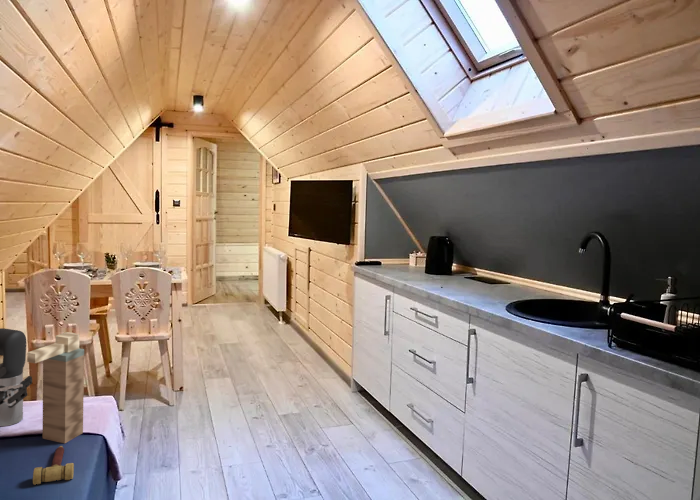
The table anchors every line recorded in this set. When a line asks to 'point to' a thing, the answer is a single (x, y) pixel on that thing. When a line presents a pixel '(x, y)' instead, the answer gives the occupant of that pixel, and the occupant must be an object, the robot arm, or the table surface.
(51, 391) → the teal-capped wooden post
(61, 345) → the maple key
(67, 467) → the gavel
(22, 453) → the table surface
